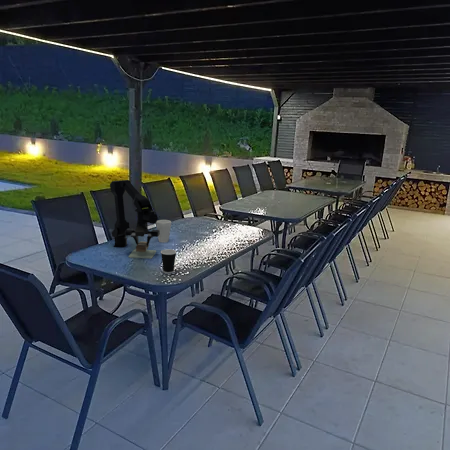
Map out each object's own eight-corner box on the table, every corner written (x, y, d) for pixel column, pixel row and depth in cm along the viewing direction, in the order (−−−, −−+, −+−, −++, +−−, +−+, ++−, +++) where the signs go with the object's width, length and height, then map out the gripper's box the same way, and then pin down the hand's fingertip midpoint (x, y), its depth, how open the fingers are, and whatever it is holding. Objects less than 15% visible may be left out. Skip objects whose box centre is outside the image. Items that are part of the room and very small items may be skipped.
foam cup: (158, 243, 249) (158, 223, 246) (154, 239, 257) (154, 220, 254) (173, 242, 254) (173, 222, 250) (168, 238, 261) (168, 219, 258)
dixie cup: (178, 274, 200) (178, 253, 197) (162, 275, 197) (162, 254, 194) (173, 268, 207) (173, 248, 204) (158, 270, 204) (158, 249, 201)
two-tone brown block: (140, 246, 231) (140, 241, 231) (148, 246, 231) (148, 241, 231) (136, 251, 222) (136, 246, 221) (145, 251, 222) (145, 246, 221)
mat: (128, 257, 221) (128, 256, 221) (134, 250, 234) (134, 249, 233) (151, 258, 221) (151, 257, 221) (156, 251, 234) (156, 250, 233)
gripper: (121, 223, 215) (122, 250, 219) (156, 224, 215) (156, 252, 218) (127, 218, 226) (127, 244, 229) (159, 219, 225) (159, 246, 229)
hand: (142, 247), depth 226 cm, fingers closed on two-tone brown block, 5 cm apart
